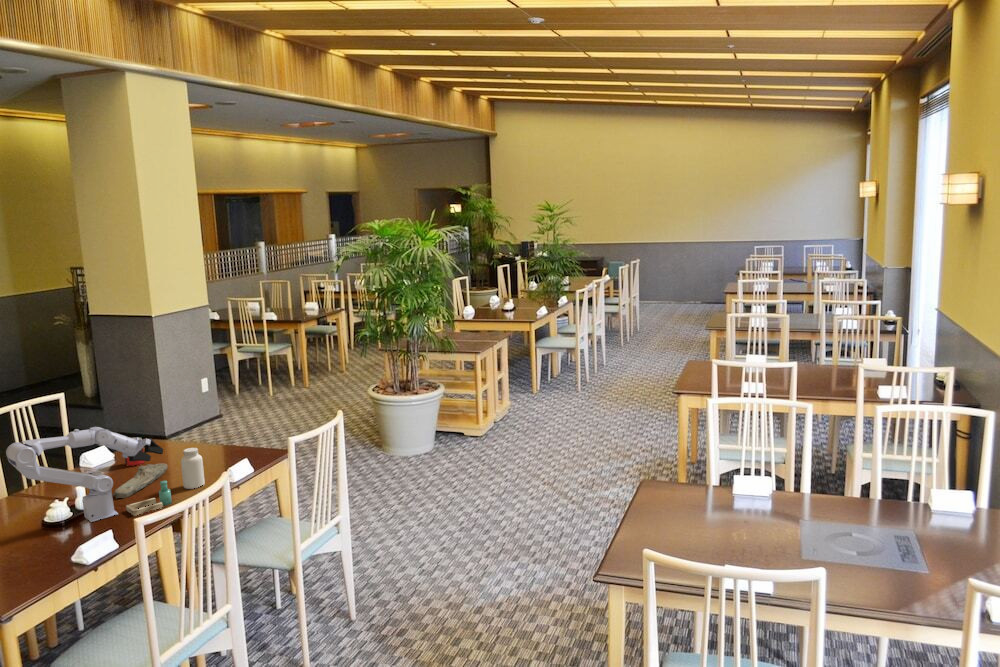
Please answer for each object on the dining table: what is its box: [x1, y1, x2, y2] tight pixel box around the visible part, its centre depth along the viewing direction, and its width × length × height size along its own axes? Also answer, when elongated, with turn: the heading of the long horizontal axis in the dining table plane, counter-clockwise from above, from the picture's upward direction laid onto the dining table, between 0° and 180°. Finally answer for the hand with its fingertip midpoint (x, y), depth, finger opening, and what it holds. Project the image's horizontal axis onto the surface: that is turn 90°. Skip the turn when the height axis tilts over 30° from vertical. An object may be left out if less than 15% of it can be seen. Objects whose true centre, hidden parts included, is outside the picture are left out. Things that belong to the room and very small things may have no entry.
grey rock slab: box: [112, 462, 169, 499], centre depth 313 cm, size 35×5×10 cm
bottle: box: [158, 480, 173, 507], centre depth 288 cm, size 4×4×8 cm
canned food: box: [124, 437, 146, 467], centre depth 339 cm, size 8×8×11 cm
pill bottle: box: [180, 447, 206, 490], centre depth 306 cm, size 8×8×15 cm
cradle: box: [125, 497, 164, 517], centre depth 284 cm, size 10×8×2 cm
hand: (156, 455), depth 293 cm, fingers open, 7 cm apart
